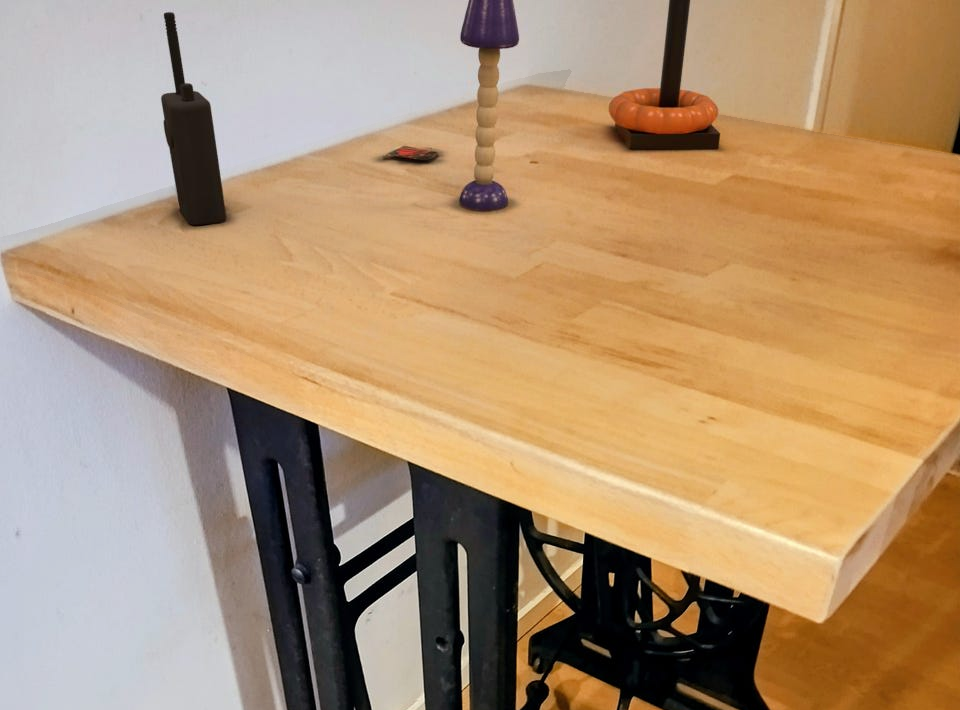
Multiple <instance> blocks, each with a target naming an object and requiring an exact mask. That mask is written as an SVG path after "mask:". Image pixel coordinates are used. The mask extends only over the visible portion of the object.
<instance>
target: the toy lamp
mask: <svg viewBox="0 0 960 710" xmlns="http://www.w3.org/2000/svg"><path fill="white" fill-rule="evenodd" d="M517 20H518V19H517V15H516V9H515V4H514V0H468V1H467V7H466V11H465V13H464V19H463V22H462V26H461V29H460V30H461V31H460V36H459V38H460V42H461V43H462V45H465V46H467V47H470V48H474V49H478V53H477V54H478V61H479V67H478V70H477V81H478V83H479V86H478V89H477V95H476V98H477V102H478V106H477V109H476V115H475V116H476V117H475V118H476V122H477V127H476V131H475V141H476V144H477V145H476V147H475V150H474V160H475V163H476V164H475V166H474V168H473V169H474V170H473V171H474V172H473V177H474V180H472V181H470V182H468V183H467V184H466V185H465V186H464V187H463V188H462V190H461V192H460V194H459V199H458V202H459V204H460V205H461V206H462V207H464V208H466V209H468V210H473V211H481V212H486V211H487V212H489V211H498V210H502V209H504V208H506V207H508V205H509V197H508V194H507V192H506V189H505V188H504V186H503V185H502V184H500V183H499V182H497V181H495V180H494V176H495V168H494V162H495V158H496V148H495V146H494V145H495V143H496V140H497V129H496V124H497V122H498V114H499V113H498V108H497V103H498V101H499V88H498V87H497V86H498V83H499V80H500V69H499V66H498V65H499V63H500V59H501V50H502V49H503V50H504V49H510V48H511V49H512V48H515V47H517V46H518V45H519V42H520V33H519V27H518V22H517Z"/></svg>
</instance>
